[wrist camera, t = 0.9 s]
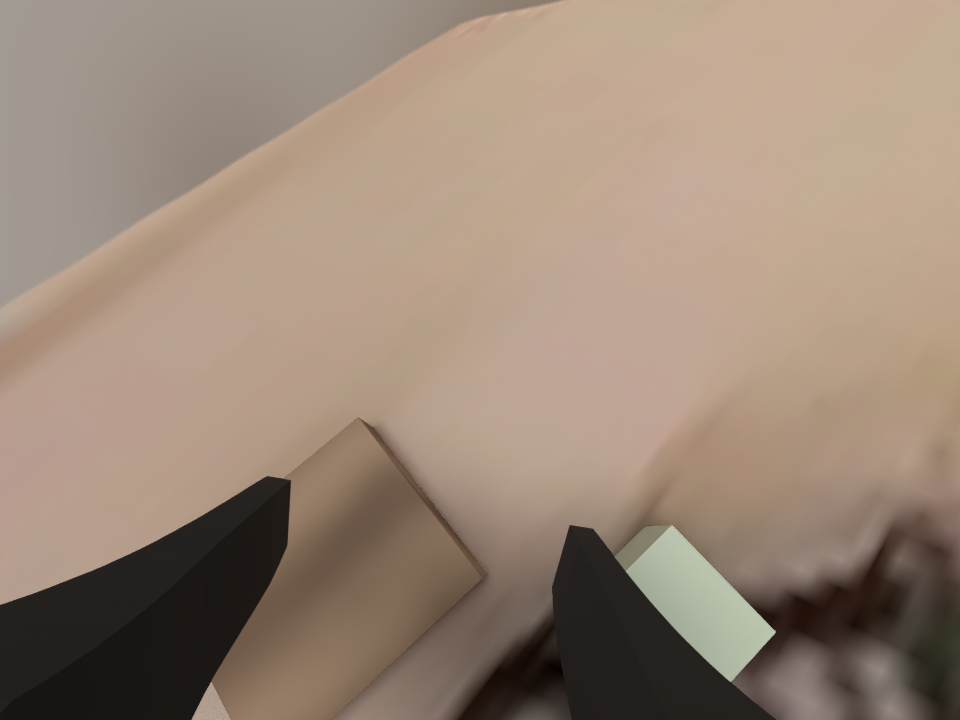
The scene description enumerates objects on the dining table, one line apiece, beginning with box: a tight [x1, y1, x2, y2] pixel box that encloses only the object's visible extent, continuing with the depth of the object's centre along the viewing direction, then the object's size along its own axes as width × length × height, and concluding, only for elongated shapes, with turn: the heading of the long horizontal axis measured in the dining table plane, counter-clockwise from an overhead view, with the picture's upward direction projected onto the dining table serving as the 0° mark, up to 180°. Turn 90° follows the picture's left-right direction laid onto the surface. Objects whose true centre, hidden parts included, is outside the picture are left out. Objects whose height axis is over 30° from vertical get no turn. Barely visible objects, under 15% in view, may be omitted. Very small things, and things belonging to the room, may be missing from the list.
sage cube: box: [614, 525, 776, 682], centre depth 20 cm, size 5×5×5 cm
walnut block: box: [212, 417, 487, 720], centre depth 24 cm, size 10×12×3 cm
